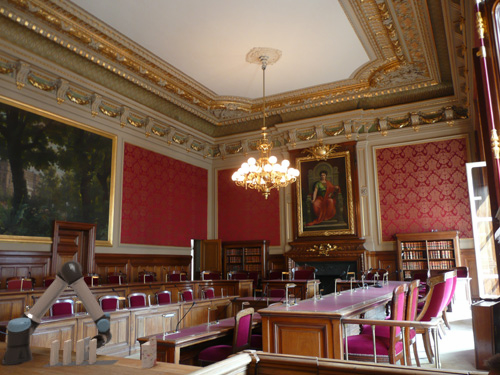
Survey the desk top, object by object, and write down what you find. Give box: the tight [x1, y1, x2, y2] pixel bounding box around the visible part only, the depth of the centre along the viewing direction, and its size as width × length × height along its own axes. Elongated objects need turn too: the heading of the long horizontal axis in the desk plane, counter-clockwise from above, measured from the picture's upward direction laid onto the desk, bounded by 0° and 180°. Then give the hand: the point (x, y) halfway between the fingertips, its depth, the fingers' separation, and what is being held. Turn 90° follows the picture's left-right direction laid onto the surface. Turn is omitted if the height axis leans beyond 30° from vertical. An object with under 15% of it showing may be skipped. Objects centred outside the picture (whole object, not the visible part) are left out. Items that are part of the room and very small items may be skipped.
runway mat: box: [42, 359, 119, 368], centre depth 229 cm, size 38×10×1 cm, turn 90°
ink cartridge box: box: [140, 335, 157, 369], centre depth 222 cm, size 9×5×15 cm, turn 168°
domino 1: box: [49, 339, 60, 366], centre depth 230 cm, size 2×6×12 cm, turn 0°
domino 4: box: [88, 338, 98, 364], centre depth 230 cm, size 2×6×12 cm, turn 0°
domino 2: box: [62, 339, 73, 365], centre depth 230 cm, size 2×6×12 cm, turn 0°
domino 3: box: [75, 338, 85, 365], centre depth 230 cm, size 2×6×12 cm, turn 0°
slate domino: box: [83, 336, 92, 361], centre depth 240 cm, size 2×6×12 cm, turn 0°
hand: (83, 349), depth 235 cm, fingers closed on slate domino, 2 cm apart
